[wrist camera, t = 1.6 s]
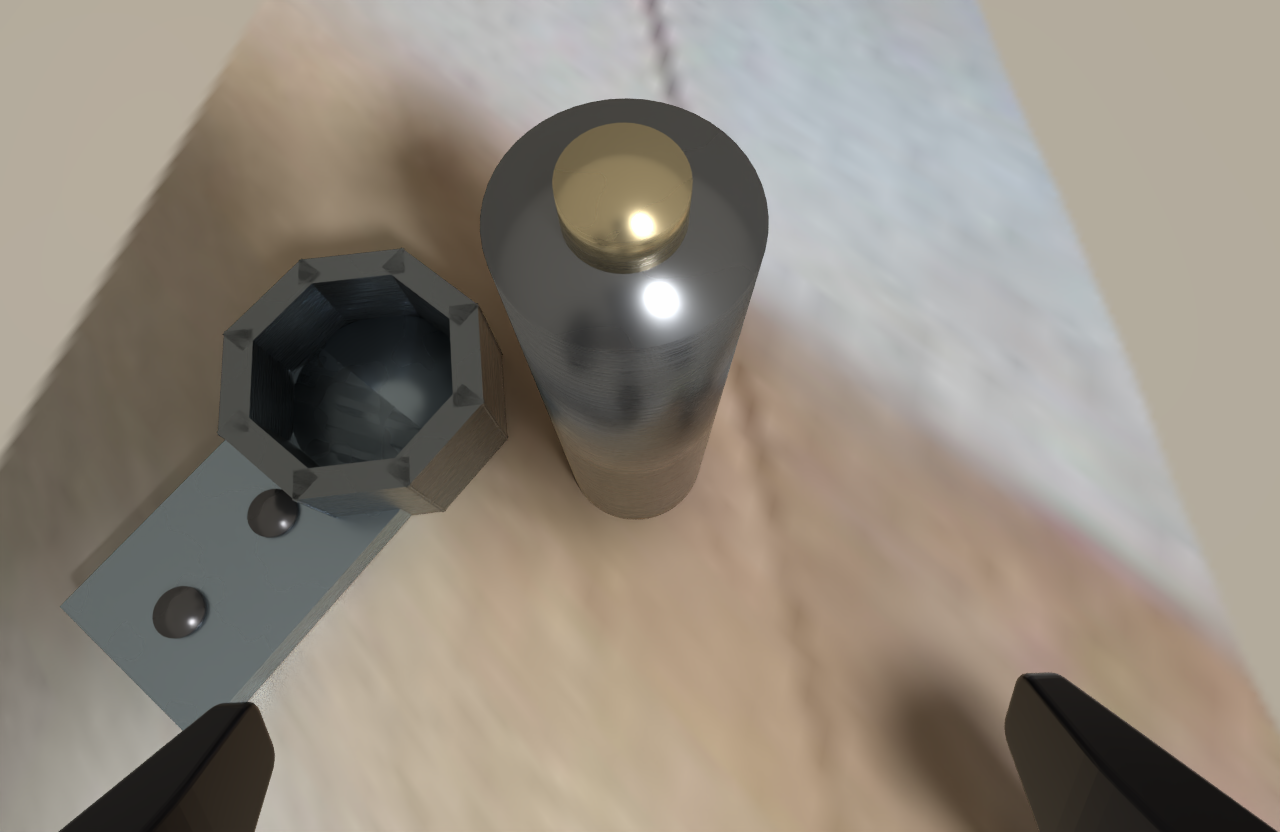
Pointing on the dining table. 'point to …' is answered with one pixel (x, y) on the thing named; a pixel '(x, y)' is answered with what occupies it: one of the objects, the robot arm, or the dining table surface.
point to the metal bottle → (627, 286)
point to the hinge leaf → (300, 474)
